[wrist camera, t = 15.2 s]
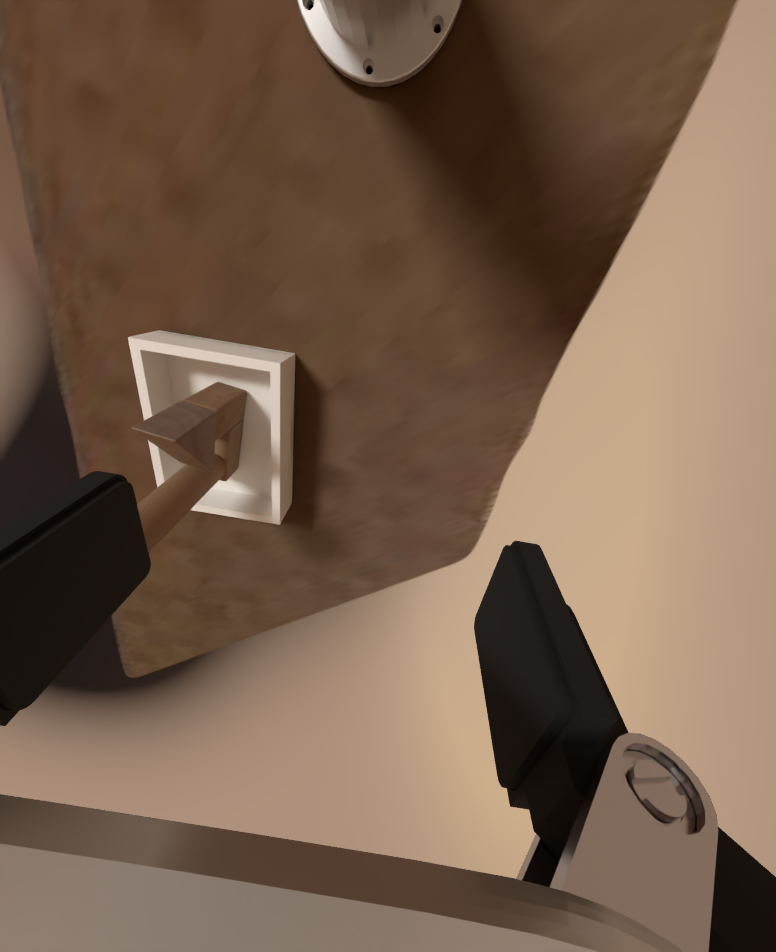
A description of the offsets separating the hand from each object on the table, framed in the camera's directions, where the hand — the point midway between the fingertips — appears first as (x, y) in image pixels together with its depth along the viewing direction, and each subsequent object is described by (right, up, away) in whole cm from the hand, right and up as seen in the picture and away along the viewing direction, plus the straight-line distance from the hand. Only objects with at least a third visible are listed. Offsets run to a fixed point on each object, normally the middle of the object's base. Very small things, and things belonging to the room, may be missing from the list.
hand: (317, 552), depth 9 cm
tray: (-17, +8, +35) cm, 40 cm away
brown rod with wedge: (-17, +8, +34) cm, 39 cm away
